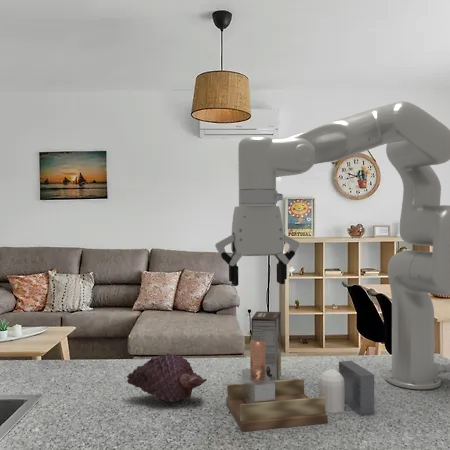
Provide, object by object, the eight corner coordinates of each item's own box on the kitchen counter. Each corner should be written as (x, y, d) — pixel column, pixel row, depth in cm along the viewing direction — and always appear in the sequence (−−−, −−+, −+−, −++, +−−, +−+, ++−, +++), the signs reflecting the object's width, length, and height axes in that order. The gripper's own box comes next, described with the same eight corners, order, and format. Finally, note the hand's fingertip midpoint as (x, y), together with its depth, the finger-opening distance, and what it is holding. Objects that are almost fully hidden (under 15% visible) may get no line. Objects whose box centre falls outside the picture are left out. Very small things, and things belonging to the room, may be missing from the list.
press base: (301, 397, 110) (301, 377, 110) (327, 423, 96) (327, 400, 96) (226, 403, 106) (226, 382, 106) (242, 431, 92) (242, 407, 92)
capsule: (318, 402, 107) (318, 365, 107) (343, 403, 106) (343, 366, 106) (319, 412, 101) (319, 373, 101) (345, 413, 101) (345, 374, 100)
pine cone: (121, 407, 104) (120, 360, 104) (134, 391, 114) (134, 347, 114) (204, 410, 103) (204, 362, 102) (210, 393, 112) (210, 349, 112)
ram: (260, 396, 106) (260, 335, 105) (275, 414, 96) (274, 347, 96) (242, 397, 105) (241, 336, 104) (255, 416, 95) (254, 348, 95)
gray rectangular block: (351, 396, 110) (351, 360, 110) (374, 414, 100) (374, 374, 100) (338, 397, 109) (338, 361, 109) (360, 415, 100) (360, 375, 99)
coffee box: (256, 373, 127) (256, 310, 126) (281, 374, 125) (281, 311, 125) (250, 385, 118) (250, 317, 117) (277, 387, 116) (277, 318, 116)
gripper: (291, 200, 105) (292, 280, 106) (211, 200, 102) (212, 283, 102) (304, 198, 98) (305, 285, 98) (219, 199, 94) (220, 288, 95)
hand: (258, 284), depth 100 cm, fingers open, 9 cm apart
